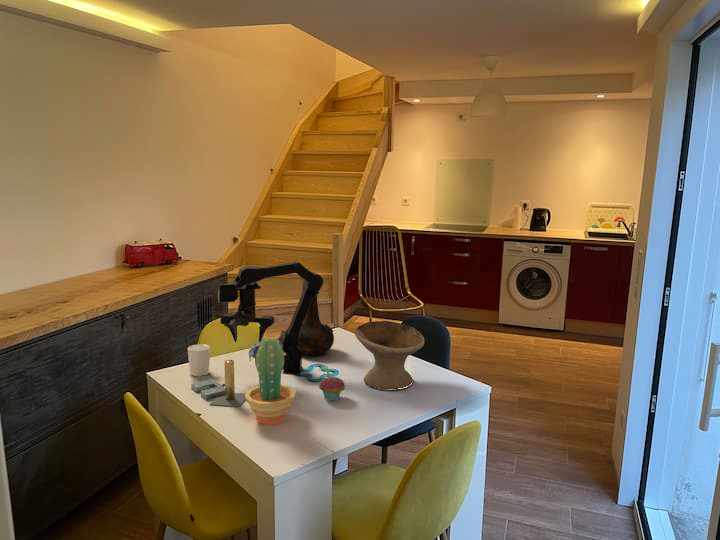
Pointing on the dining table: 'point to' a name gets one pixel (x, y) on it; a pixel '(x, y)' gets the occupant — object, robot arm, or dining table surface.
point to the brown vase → (314, 333)
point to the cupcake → (331, 387)
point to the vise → (209, 389)
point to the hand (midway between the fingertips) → (247, 342)
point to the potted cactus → (269, 383)
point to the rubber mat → (233, 403)
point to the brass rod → (229, 380)
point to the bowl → (389, 352)
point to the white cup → (199, 359)
